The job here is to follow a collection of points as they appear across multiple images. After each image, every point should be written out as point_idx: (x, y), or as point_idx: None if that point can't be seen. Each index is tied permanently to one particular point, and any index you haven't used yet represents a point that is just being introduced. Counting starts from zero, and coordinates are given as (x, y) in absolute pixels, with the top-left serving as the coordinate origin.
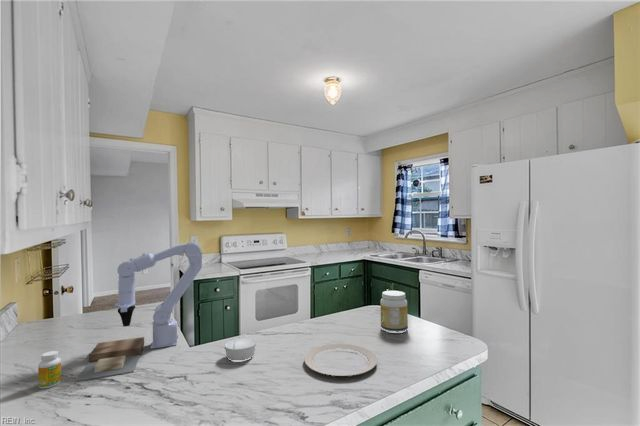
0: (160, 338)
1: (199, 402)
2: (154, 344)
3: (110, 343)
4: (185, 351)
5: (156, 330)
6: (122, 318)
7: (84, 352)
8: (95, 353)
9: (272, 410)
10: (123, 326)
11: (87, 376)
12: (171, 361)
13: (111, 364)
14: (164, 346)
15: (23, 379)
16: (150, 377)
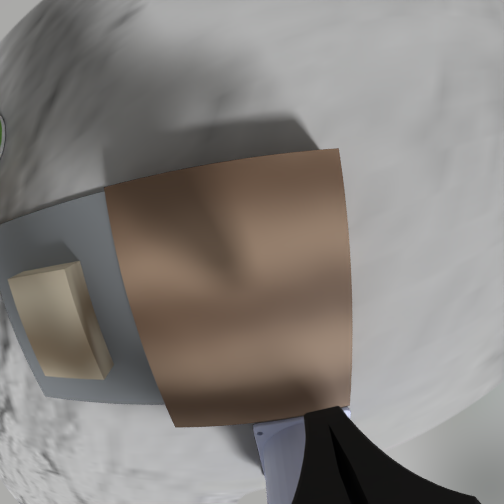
0: (265, 476)
1: (3, 461)
2: (275, 438)
3: (300, 246)
4: (199, 494)
5: (273, 499)
6: (302, 486)
7: (314, 82)
8: (118, 218)
9: (20, 496)
10: (306, 413)
11: (3, 258)
12: (124, 471)
13: (31, 340)
14: (260, 457)
15: (58, 13)
16: (35, 426)
